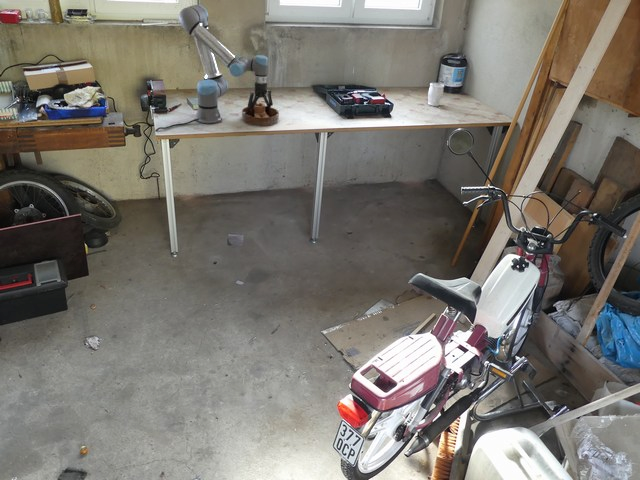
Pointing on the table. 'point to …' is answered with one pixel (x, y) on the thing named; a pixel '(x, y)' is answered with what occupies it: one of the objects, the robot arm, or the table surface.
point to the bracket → (260, 110)
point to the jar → (435, 93)
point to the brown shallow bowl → (259, 121)
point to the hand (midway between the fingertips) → (259, 117)
